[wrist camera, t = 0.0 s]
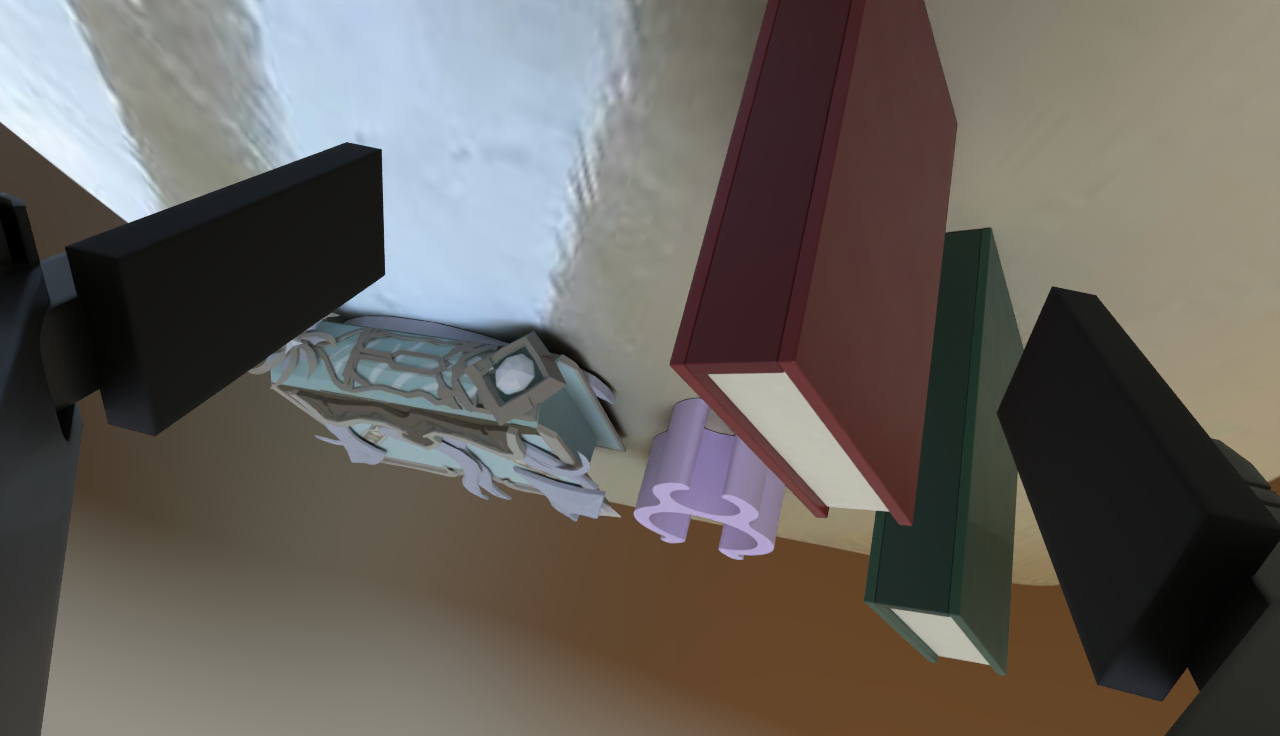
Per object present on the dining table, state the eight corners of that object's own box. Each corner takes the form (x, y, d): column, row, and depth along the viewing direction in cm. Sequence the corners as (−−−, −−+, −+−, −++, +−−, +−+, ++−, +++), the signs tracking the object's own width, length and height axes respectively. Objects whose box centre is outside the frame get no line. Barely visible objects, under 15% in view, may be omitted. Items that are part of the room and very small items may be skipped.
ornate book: (591, 313, 53) (240, 282, 61) (554, 442, 49) (183, 389, 57) (652, 438, 72) (379, 401, 81) (630, 537, 68) (345, 487, 77)
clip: (646, 386, 59) (623, 470, 56) (807, 421, 57) (791, 509, 55) (656, 468, 77) (638, 535, 74) (778, 497, 75) (765, 566, 72)
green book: (991, 227, 34) (959, 616, 27) (1024, 351, 42) (1006, 676, 35) (912, 236, 36) (863, 601, 29) (958, 353, 44) (928, 661, 37)
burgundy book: (889, -124, 22) (795, 362, 15) (957, 124, 29) (912, 526, 23) (791, -88, 24) (668, 365, 17) (878, 138, 31) (815, 517, 24)
